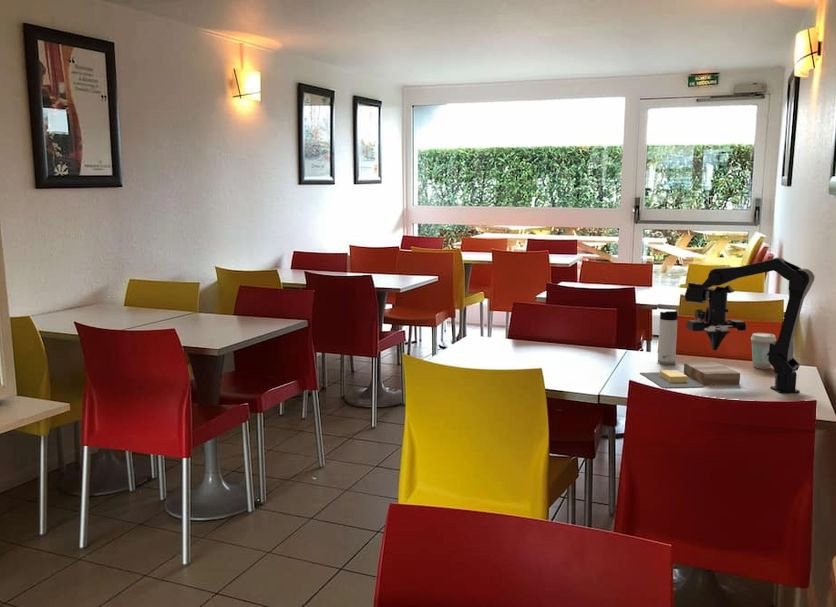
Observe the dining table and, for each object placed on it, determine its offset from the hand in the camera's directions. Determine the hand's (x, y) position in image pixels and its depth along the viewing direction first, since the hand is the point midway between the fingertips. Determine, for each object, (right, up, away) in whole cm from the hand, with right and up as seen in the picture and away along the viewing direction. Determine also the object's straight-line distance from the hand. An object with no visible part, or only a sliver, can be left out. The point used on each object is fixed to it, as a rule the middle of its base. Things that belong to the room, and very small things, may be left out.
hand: (714, 350), depth 253 cm
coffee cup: (+25, -8, +19) cm, 32 cm away
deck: (-1, -10, +1) cm, 10 cm away
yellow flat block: (-14, -8, 0) cm, 16 cm away
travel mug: (-8, -7, +26) cm, 28 cm away
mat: (-15, -10, 0) cm, 18 cm away
